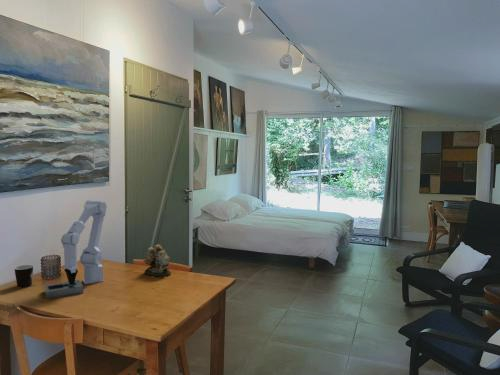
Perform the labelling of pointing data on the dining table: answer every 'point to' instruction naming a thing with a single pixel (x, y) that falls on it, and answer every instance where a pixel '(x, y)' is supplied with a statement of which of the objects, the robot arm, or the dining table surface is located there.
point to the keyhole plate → (63, 289)
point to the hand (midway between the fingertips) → (71, 283)
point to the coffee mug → (24, 275)
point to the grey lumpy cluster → (157, 262)
